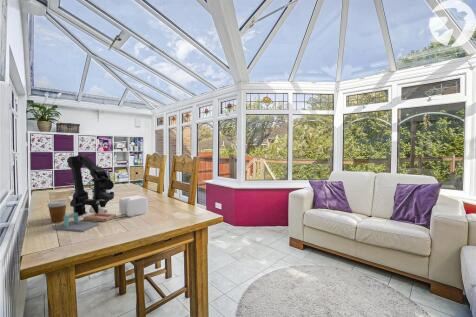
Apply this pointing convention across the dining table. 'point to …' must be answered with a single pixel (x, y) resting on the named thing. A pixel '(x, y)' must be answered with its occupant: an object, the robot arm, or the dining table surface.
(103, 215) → the tray
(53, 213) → the disposable coffee cup
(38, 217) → the dining table surface
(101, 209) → the white bottle
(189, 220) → the dining table surface
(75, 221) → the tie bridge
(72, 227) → the board
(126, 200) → the cable organizer
